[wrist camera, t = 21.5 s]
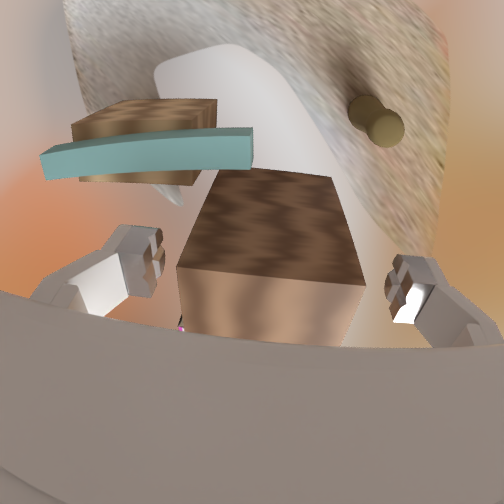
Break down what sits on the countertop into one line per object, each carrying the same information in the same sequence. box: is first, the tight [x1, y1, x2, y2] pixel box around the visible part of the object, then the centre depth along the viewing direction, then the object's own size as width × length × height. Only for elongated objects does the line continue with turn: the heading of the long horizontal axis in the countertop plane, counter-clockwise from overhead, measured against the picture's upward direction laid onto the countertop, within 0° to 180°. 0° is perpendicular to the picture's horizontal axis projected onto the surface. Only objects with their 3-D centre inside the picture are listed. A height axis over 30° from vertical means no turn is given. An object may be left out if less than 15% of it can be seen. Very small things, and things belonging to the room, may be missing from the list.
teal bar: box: [39, 128, 253, 180], centre depth 31 cm, size 26×4×4 cm, turn 91°
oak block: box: [71, 99, 217, 186], centre depth 39 cm, size 16×8×15 cm, turn 86°
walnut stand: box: [176, 168, 366, 347], centre depth 42 cm, size 18×12×26 cm, turn 86°
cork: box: [348, 95, 405, 148], centre depth 37 cm, size 6×6×11 cm
